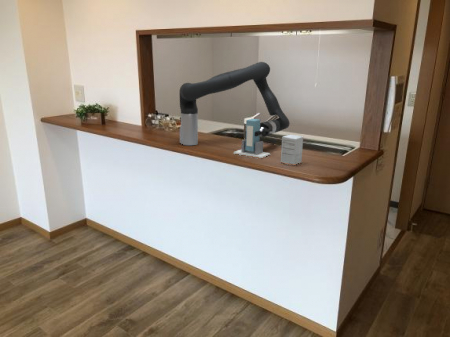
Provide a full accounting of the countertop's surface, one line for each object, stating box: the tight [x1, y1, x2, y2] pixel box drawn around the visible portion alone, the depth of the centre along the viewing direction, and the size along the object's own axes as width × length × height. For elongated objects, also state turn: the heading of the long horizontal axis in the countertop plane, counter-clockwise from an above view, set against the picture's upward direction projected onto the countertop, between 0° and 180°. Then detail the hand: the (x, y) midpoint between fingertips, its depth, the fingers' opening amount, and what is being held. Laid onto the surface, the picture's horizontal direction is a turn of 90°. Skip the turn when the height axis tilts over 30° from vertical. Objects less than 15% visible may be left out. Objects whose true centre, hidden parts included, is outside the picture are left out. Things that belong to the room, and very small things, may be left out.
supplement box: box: [280, 134, 304, 165], centre depth 171 cm, size 7×7×13 cm
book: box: [245, 118, 261, 151], centre depth 183 cm, size 4×6×15 cm
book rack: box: [233, 138, 271, 158], centre depth 184 cm, size 16×9×7 cm, turn 57°
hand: (250, 133), depth 181 cm, fingers closed on book, 4 cm apart
